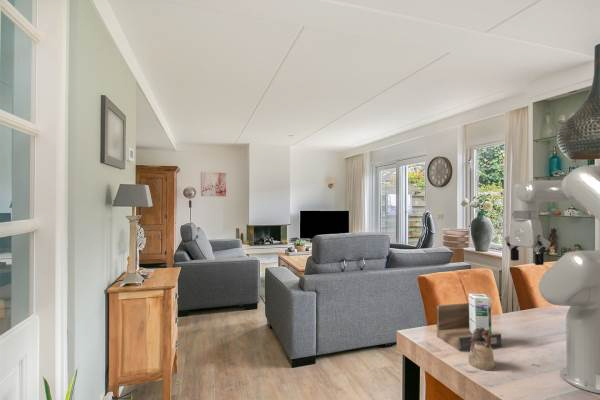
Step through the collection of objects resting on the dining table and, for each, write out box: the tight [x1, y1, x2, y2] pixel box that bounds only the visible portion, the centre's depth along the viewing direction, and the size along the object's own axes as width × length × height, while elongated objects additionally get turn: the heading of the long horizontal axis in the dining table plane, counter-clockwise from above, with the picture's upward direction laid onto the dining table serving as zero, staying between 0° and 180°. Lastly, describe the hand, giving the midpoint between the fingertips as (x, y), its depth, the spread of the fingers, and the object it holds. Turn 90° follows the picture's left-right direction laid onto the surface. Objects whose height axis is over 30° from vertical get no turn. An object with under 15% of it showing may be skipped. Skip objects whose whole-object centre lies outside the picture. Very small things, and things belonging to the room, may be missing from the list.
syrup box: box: [468, 293, 493, 335], centre depth 118 cm, size 6×6×14 cm
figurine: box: [468, 327, 496, 371], centre depth 101 cm, size 7×7×12 cm
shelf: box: [436, 302, 502, 352], centre depth 119 cm, size 13×17×12 cm
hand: (526, 262), depth 116 cm, fingers open, 9 cm apart
